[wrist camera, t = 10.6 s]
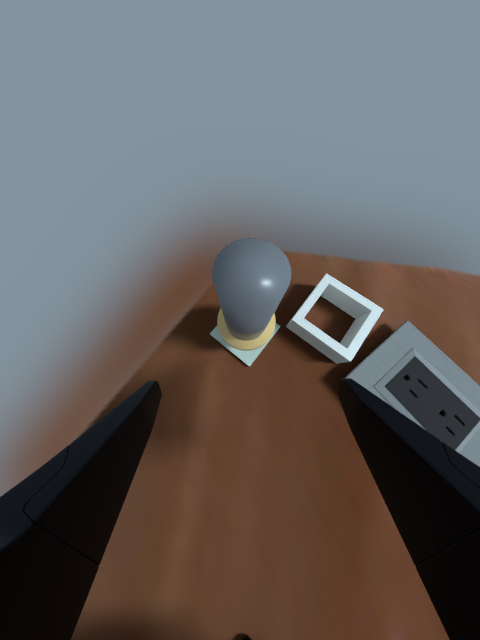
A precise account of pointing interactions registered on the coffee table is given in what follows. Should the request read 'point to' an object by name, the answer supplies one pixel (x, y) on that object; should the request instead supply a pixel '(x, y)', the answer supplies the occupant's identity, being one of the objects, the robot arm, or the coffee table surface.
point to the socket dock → (350, 304)
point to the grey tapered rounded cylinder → (249, 291)
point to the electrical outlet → (425, 388)
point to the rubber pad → (245, 356)
